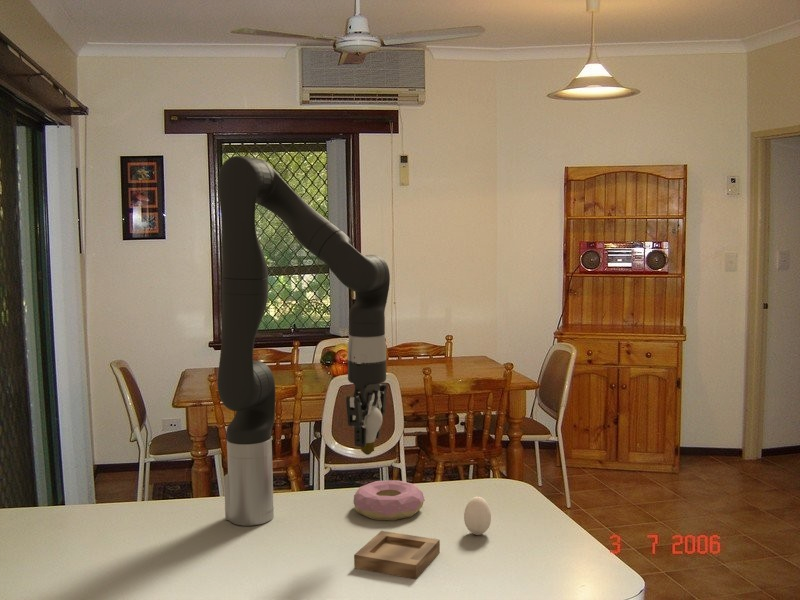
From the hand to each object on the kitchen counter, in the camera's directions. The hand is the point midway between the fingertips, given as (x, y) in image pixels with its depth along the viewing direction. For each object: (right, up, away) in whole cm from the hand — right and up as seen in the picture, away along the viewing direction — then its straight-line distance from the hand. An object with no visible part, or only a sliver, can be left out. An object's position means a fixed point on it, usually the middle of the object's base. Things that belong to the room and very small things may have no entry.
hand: (367, 441), depth 158 cm
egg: (+22, -19, +1) cm, 29 cm away
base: (+6, -20, -10) cm, 23 cm away
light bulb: (0, -3, 0) cm, 3 cm away
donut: (+4, -18, +16) cm, 24 cm away
